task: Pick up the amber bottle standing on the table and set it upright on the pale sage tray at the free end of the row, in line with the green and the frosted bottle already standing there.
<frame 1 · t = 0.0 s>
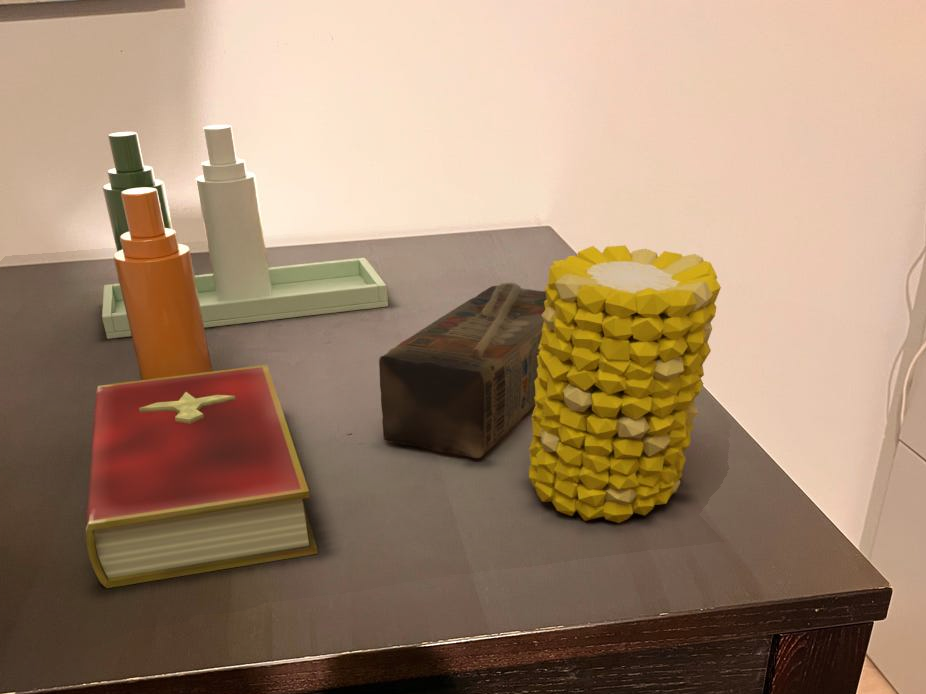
tray: (246, 306, 97), on the table
green bottle: (159, 310, 95), resting on tray
beverage carton: (487, 407, 75), on the table
frosted bottle: (245, 300, 97), resting on tray
amber bottle: (182, 401, 77), on the table
hardcover book: (200, 493, 65), on the table
food: (611, 496, 63), on the table
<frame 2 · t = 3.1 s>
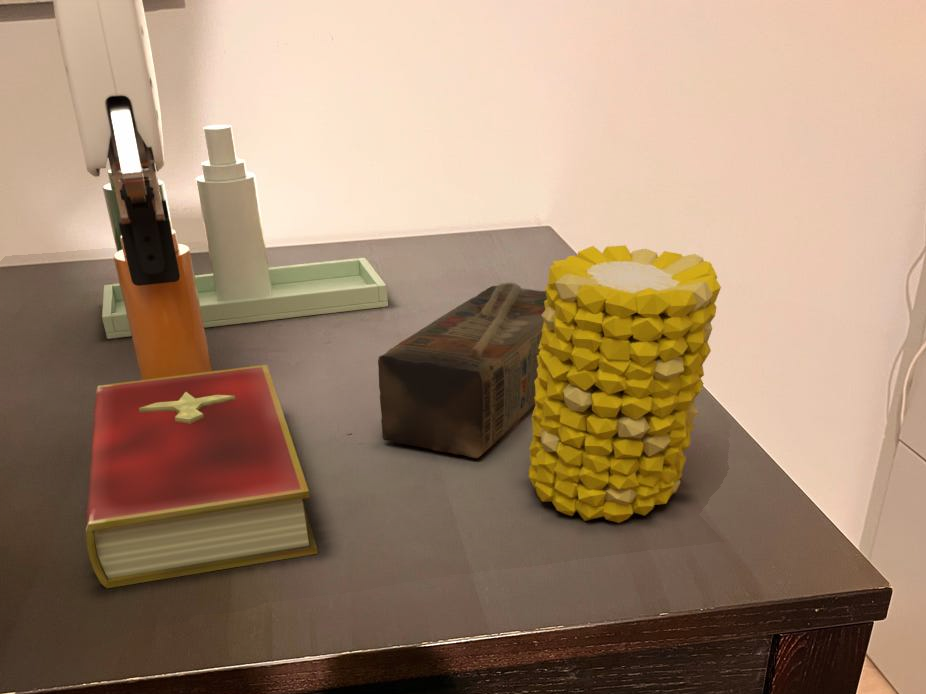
hand: (155, 268, 72), 10 cm above the table, tool pointing down, fingers closed on amber bottle, 5 cm apart
amber bottle: (182, 401, 77), on the table, touching gripper
everything else where it was.
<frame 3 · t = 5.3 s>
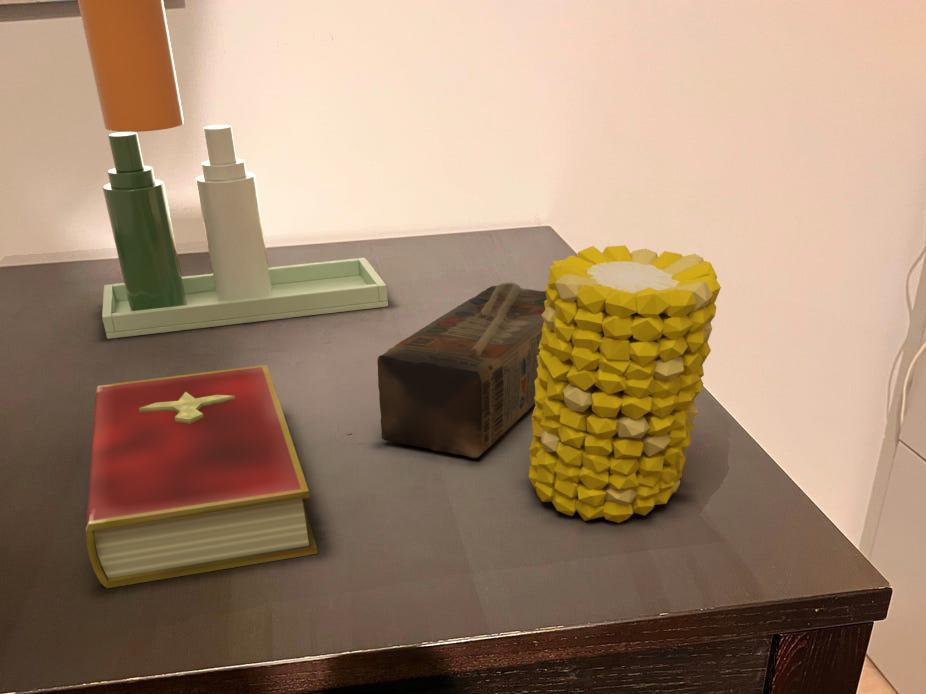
amber bottle: (144, 125, 69), point 19 cm above the table, touching gripper
everything else where it was.
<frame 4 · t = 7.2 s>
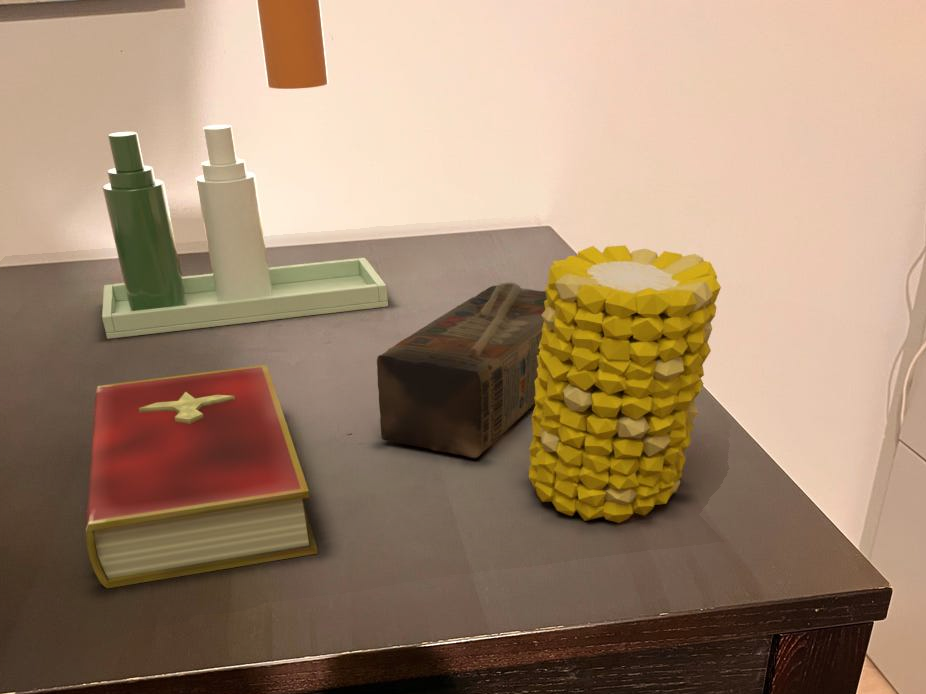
amber bottle: (298, 85, 87), point 18 cm above the table, touching gripper
everything else where it was.
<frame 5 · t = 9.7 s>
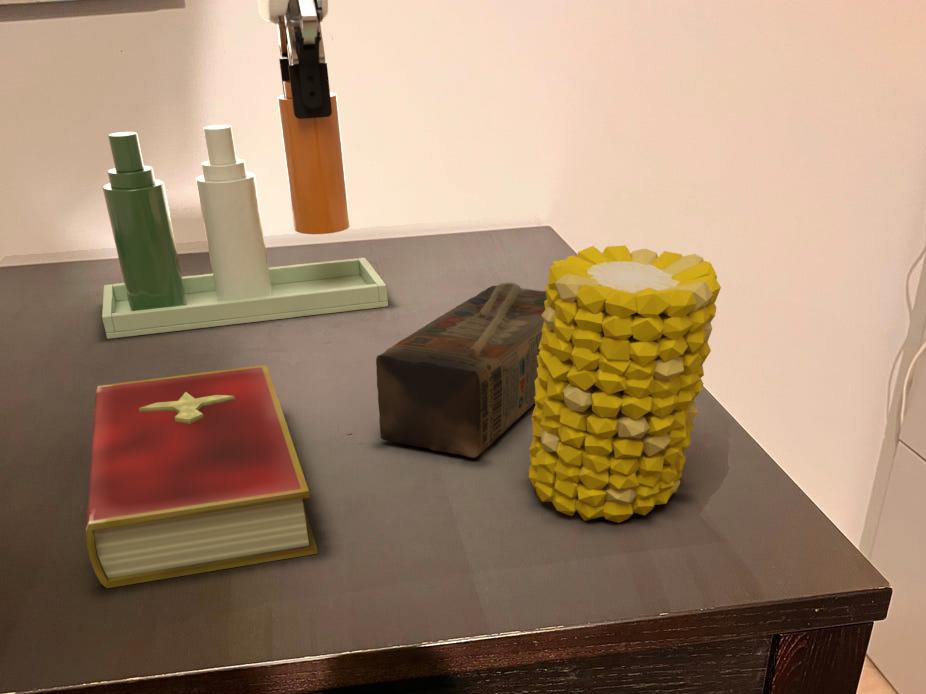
hand: (308, 110, 89), 16 cm above the table, tool pointing down, fingers closed on amber bottle, 5 cm apart
amber bottle: (322, 227, 95), point 6 cm above the table, touching gripper
everything else where it was.
when the fingers open (10 cm above the table, at t = 11.6 s): amber bottle stays where it is, resting on tray.
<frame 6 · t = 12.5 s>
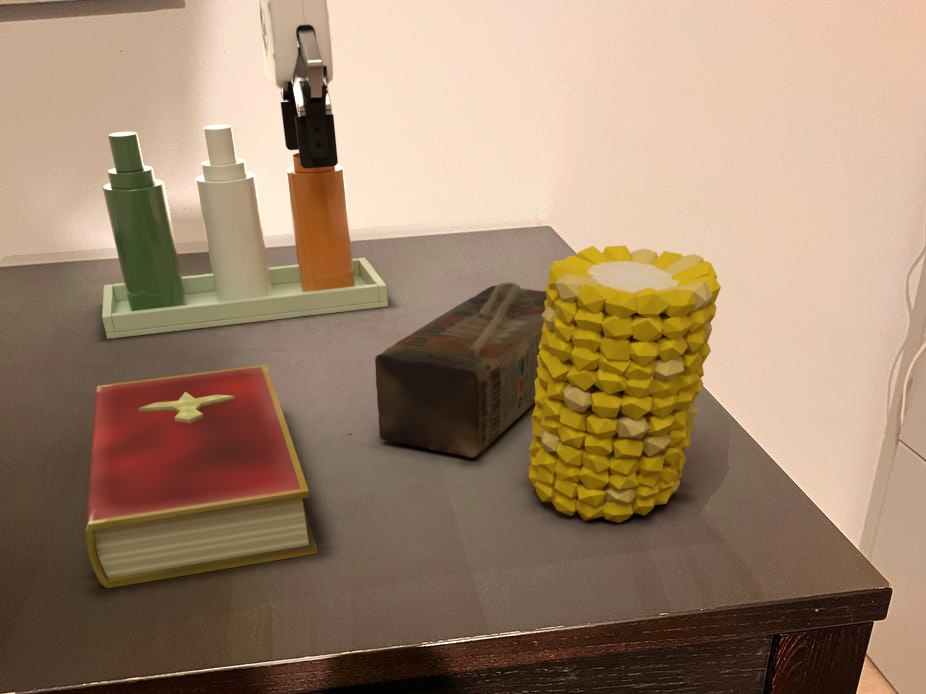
hand: (311, 157, 91), 12 cm above the table, tool pointing down, fingers open, 9 cm apart
amber bottle: (328, 291, 98), resting on tray
everything else where it was.
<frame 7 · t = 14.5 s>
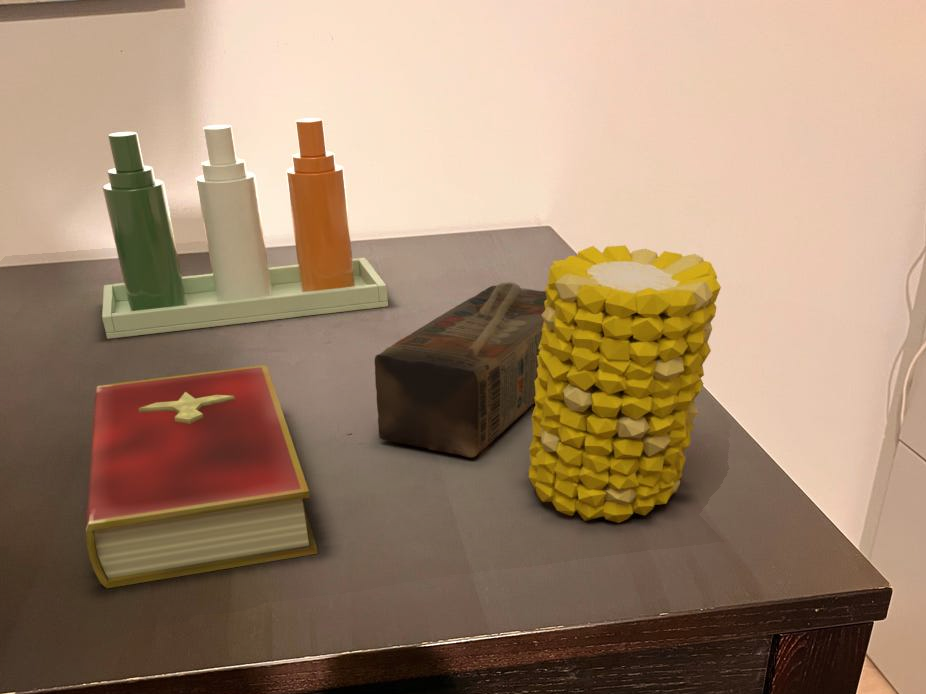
nothing on the table moved.
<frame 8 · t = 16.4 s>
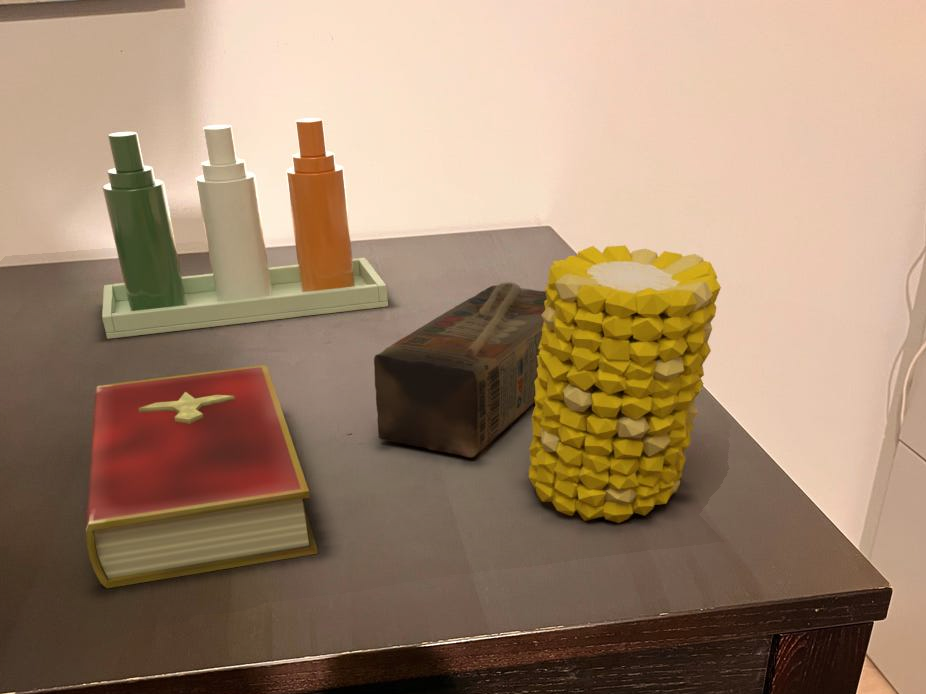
nothing on the table moved.
at the end: amber bottle 0.1 cm from the target spot in the tray, point 0.5 cm above the tray's base; amber bottle tilted 0°; frosted bottle moved 0.0 cm from its start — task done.
